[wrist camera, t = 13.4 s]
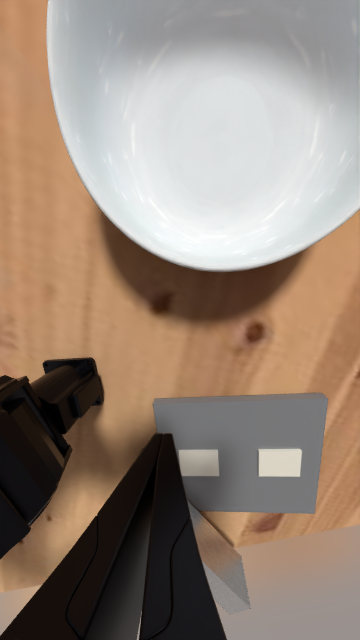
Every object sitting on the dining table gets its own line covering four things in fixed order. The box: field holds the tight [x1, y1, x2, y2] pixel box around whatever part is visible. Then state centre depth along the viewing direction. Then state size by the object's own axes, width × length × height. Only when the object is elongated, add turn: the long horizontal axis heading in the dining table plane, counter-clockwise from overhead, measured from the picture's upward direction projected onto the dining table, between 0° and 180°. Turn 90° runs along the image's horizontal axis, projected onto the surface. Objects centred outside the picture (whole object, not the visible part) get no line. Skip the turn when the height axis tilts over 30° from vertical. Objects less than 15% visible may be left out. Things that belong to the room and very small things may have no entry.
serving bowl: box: [47, 0, 360, 272], centre depth 12 cm, size 21×21×7 cm
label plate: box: [140, 393, 328, 514], centre depth 22 cm, size 23×18×2 cm
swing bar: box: [132, 464, 250, 614], centre depth 21 cm, size 22×4×4 cm, turn 38°
